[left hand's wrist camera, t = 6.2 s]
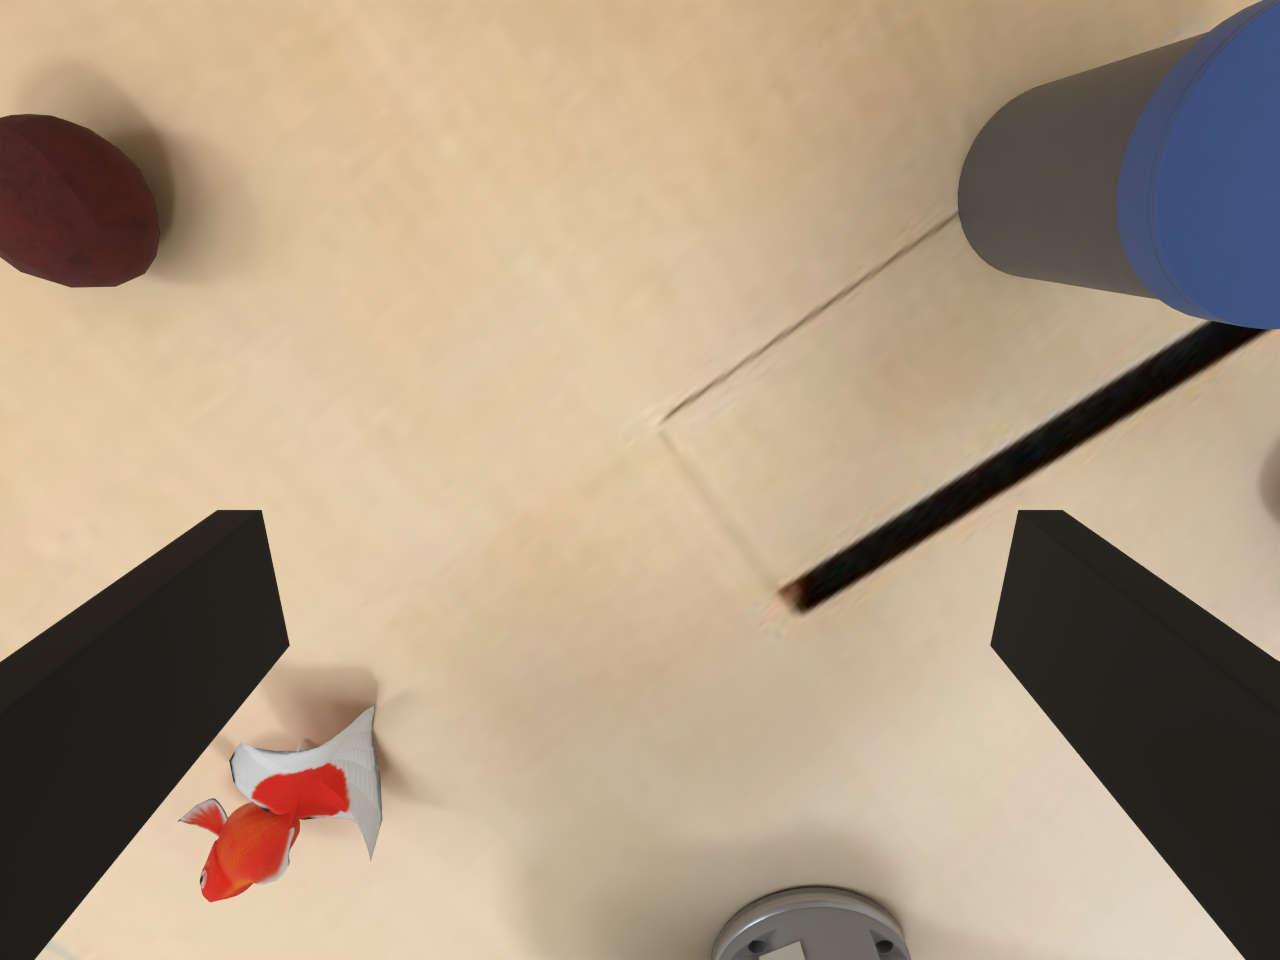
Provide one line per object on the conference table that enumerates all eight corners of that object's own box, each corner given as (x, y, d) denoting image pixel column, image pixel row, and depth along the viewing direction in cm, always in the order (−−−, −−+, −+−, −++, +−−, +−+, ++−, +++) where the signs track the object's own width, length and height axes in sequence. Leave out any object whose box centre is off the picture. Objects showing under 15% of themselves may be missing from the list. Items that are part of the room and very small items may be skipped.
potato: (108, 93, 34) (-19, 64, 28) (223, 232, 37) (132, 236, 30) (9, 183, 36) (-133, 176, 29) (126, 312, 38) (19, 332, 31)
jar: (940, 124, 35) (1144, 63, 21) (1130, 50, 34) (1481, -68, 20) (975, 302, 38) (1173, 354, 24) (1150, 240, 37) (1466, 255, 23)
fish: (105, 791, 44) (95, 929, 36) (322, 628, 48) (353, 723, 40) (231, 856, 50) (244, 984, 43) (413, 708, 54) (455, 803, 46)
